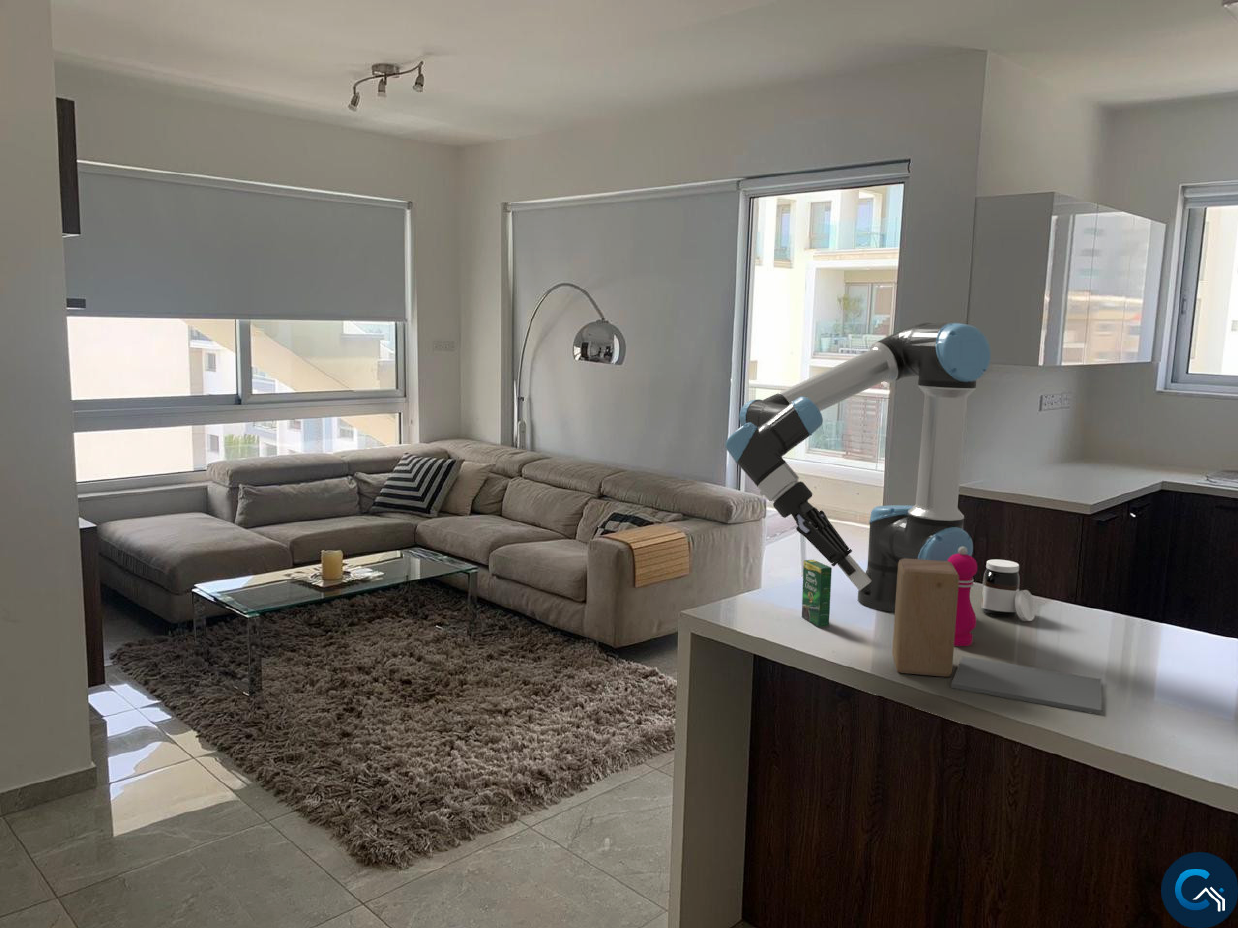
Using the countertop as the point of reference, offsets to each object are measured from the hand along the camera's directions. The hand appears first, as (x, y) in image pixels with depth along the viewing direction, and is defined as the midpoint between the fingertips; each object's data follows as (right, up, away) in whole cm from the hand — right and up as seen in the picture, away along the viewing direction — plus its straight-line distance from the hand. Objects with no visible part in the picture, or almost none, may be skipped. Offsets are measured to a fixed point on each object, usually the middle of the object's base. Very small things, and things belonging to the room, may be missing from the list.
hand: (865, 585), depth 180 cm
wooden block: (+10, -15, -2) cm, 18 cm away
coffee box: (-5, -11, +24) cm, 27 cm away
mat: (+26, -17, -10) cm, 33 cm away
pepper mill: (+22, -13, +13) cm, 29 cm away
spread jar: (+40, -11, +31) cm, 52 cm away
